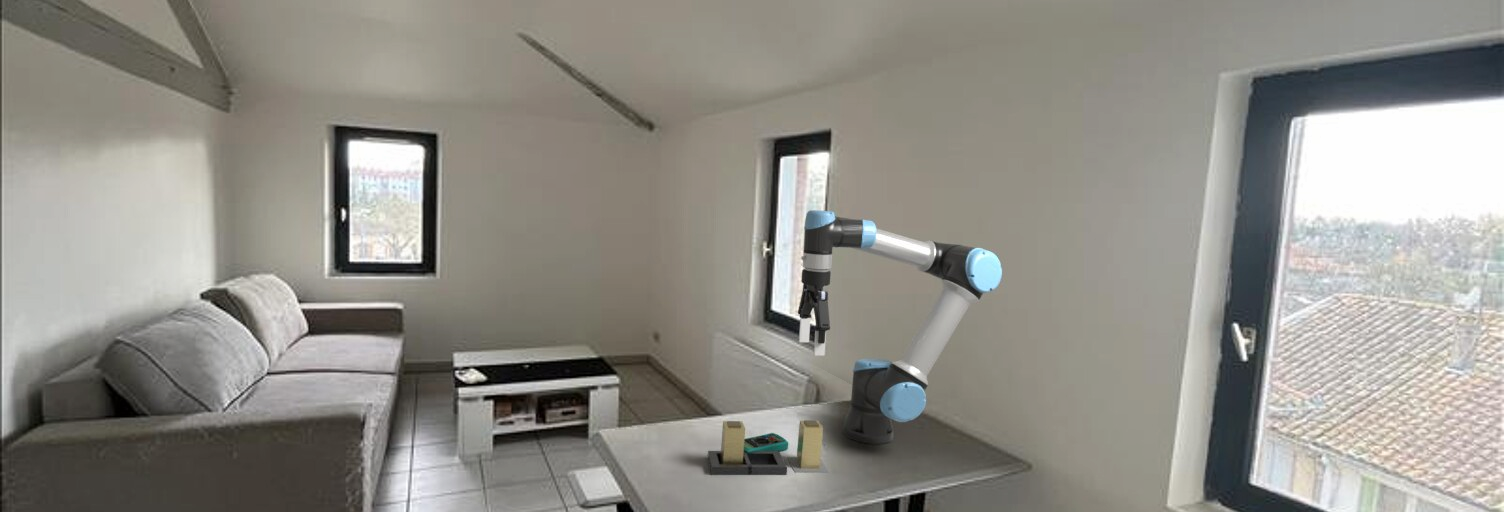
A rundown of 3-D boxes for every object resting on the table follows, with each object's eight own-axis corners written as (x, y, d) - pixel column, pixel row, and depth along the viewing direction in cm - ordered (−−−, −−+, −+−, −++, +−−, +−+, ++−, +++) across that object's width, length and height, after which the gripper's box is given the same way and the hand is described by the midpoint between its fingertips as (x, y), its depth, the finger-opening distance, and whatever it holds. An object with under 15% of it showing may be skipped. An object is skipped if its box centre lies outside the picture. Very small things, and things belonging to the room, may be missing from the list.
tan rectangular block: (814, 460, 181) (818, 419, 179) (819, 468, 176) (823, 426, 175) (796, 460, 180) (799, 419, 179) (800, 468, 175) (804, 426, 174)
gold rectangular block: (739, 462, 176) (742, 419, 175) (742, 470, 171) (745, 427, 170) (720, 462, 175) (723, 419, 174) (722, 470, 170) (725, 426, 169)
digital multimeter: (789, 450, 187) (790, 440, 186) (746, 460, 178) (747, 449, 178) (773, 440, 193) (774, 430, 192) (730, 450, 184) (731, 439, 183)
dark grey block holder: (778, 460, 181) (779, 451, 180) (786, 476, 171) (787, 467, 170) (707, 460, 177) (708, 450, 177) (711, 476, 167) (712, 467, 167)
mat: (819, 459, 183) (819, 457, 183) (828, 474, 174) (828, 471, 174) (787, 459, 181) (787, 457, 181) (794, 474, 173) (794, 471, 173)
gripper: (789, 262, 189) (785, 337, 192) (817, 276, 165) (811, 361, 167) (815, 263, 191) (810, 337, 193) (846, 277, 167) (840, 361, 169)
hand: (811, 348), depth 180 cm, fingers open, 13 cm apart
